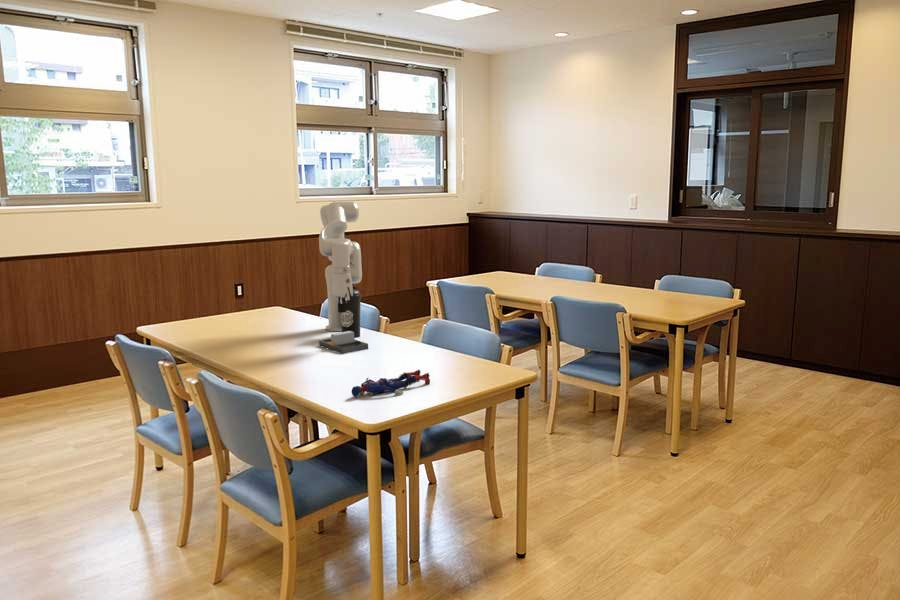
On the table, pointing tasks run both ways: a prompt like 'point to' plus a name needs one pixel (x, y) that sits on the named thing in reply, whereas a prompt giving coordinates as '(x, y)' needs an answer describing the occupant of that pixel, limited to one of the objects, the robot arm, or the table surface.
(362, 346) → the rack
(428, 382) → the figurine
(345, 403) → the table surface
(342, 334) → the rectangular block
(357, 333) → the water bottle
